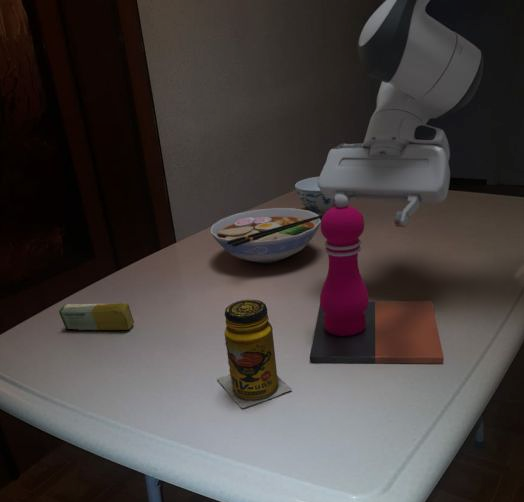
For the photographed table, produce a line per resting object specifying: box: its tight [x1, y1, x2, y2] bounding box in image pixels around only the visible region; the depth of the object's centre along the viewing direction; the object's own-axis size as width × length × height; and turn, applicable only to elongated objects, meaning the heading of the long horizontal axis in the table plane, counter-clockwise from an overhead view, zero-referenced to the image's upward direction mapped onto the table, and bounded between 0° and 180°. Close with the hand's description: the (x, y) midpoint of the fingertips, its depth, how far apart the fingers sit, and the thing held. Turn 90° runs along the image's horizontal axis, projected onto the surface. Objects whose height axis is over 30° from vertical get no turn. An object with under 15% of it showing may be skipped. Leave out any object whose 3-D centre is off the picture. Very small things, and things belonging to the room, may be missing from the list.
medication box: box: [58, 302, 135, 331], centre depth 94 cm, size 12×3×4 cm, turn 78°
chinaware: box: [294, 176, 351, 216], centre depth 140 cm, size 15×15×8 cm
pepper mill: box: [319, 195, 370, 336], centre depth 80 cm, size 7×7×20 cm
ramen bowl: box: [210, 207, 323, 264], centre depth 116 cm, size 25×23×8 cm
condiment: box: [216, 299, 293, 409], centre depth 72 cm, size 7×8×12 cm
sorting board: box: [309, 300, 445, 364], centre depth 84 cm, size 18×18×1 cm
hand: (369, 223), depth 85 cm, fingers open, 8 cm apart
